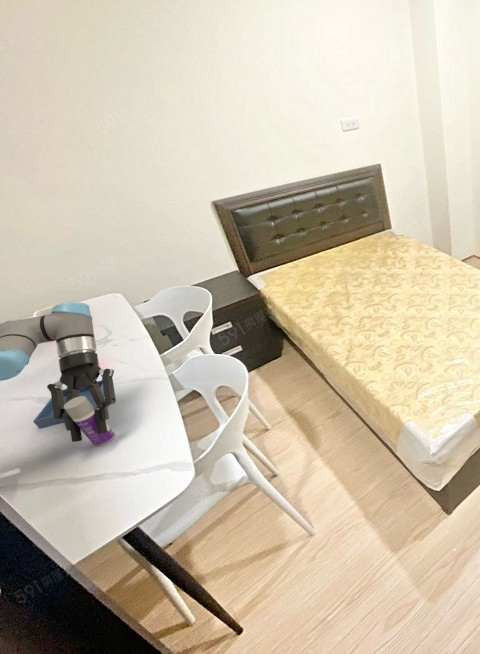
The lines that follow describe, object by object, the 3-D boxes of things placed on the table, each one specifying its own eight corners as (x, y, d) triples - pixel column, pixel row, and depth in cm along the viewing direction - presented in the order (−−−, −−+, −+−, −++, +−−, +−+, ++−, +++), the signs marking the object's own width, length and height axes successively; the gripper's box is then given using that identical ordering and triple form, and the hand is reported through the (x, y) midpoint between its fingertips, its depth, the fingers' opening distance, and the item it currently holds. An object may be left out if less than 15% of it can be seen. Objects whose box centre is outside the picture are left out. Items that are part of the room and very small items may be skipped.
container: (93, 449, 110) (62, 412, 103) (93, 439, 113) (63, 402, 106) (115, 439, 113) (86, 402, 105) (115, 429, 116) (86, 392, 108)
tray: (39, 428, 117) (32, 421, 116) (62, 397, 128) (56, 391, 127) (94, 413, 122) (88, 407, 120) (112, 385, 132) (107, 378, 131)
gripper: (124, 347, 119) (137, 423, 114) (46, 367, 112) (56, 449, 107) (109, 343, 112) (123, 424, 107) (25, 364, 105) (35, 452, 101)
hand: (90, 436), depth 107 cm, fingers closed on container, 5 cm apart
